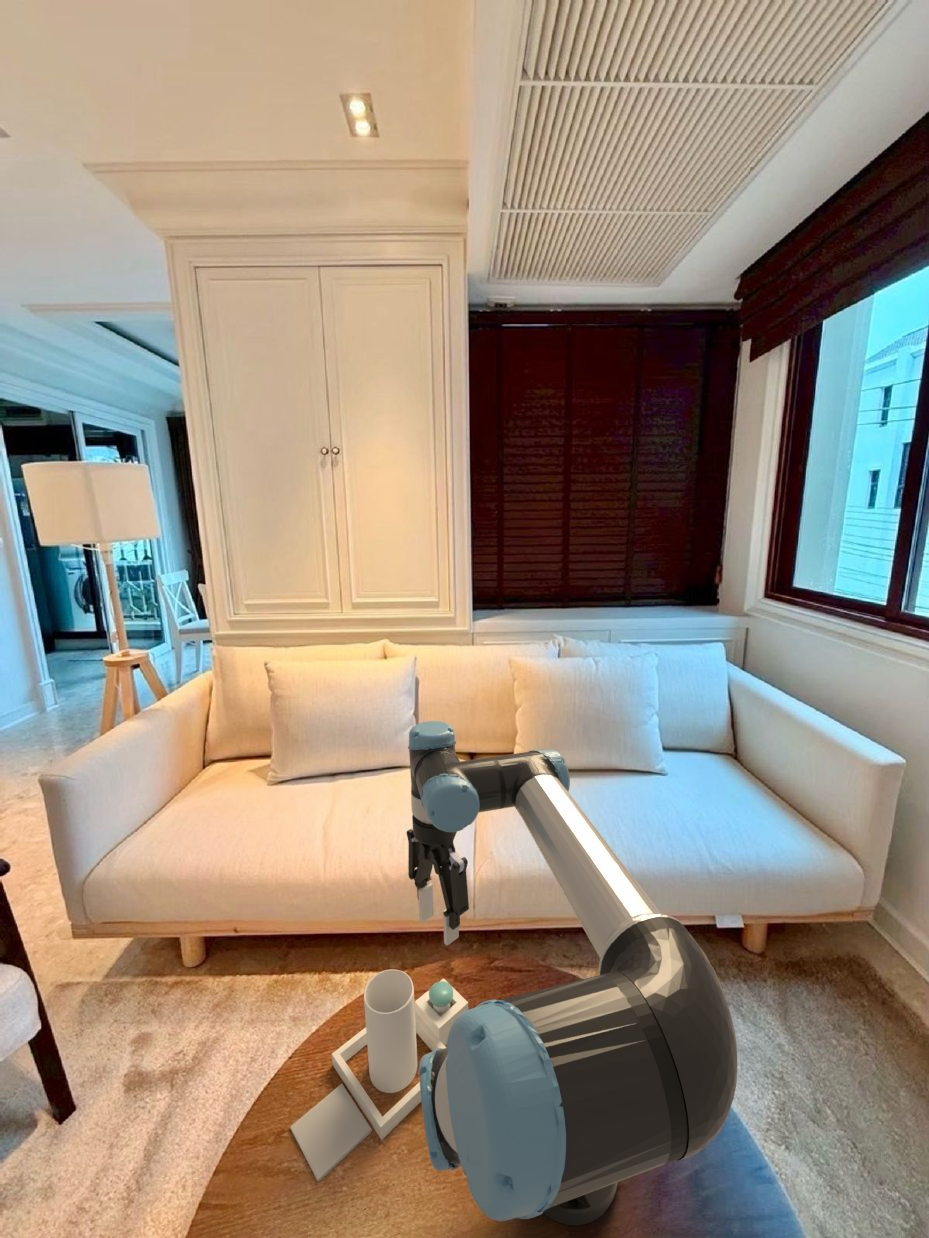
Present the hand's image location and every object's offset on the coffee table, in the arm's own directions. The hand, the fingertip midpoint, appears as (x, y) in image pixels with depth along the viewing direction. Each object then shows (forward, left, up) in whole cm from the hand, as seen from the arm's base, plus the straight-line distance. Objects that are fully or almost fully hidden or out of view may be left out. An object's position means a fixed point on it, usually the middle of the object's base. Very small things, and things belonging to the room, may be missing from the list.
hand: (438, 928), depth 93 cm
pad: (-1, +24, -21) cm, 31 cm away
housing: (0, +8, -21) cm, 22 cm away
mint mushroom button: (0, 0, -19) cm, 19 cm away
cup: (0, +11, -21) cm, 24 cm away
